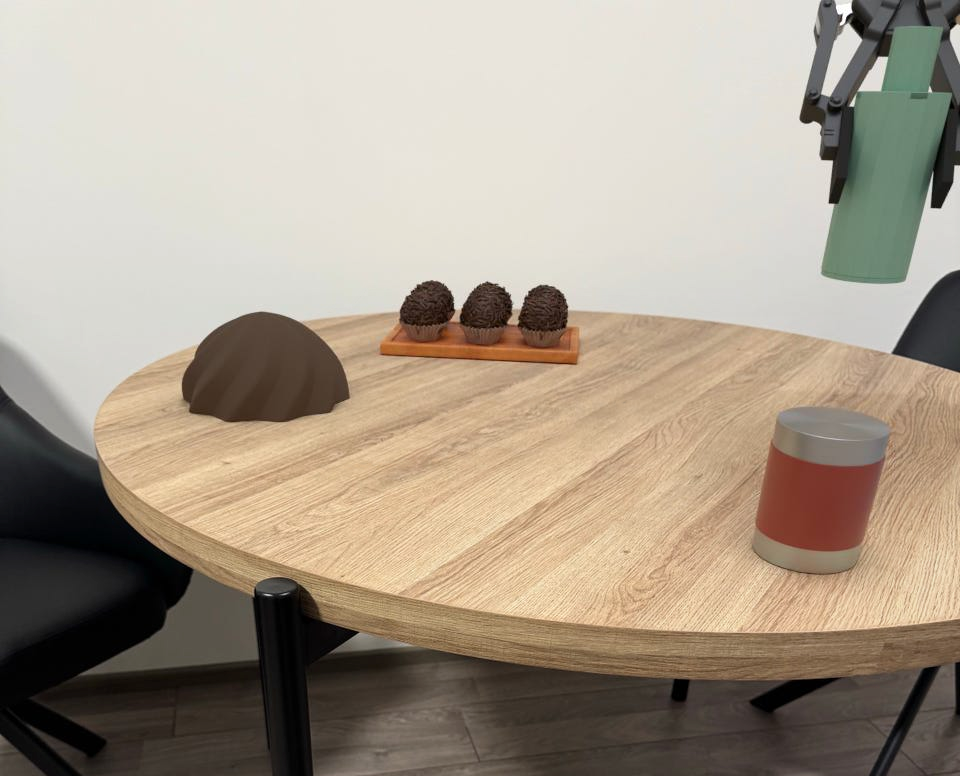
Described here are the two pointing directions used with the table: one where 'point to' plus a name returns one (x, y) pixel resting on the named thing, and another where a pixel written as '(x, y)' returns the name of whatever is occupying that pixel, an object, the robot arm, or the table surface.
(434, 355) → the chocolate truffle
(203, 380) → the decorative dome
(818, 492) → the can
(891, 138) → the bottle
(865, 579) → the table surface
